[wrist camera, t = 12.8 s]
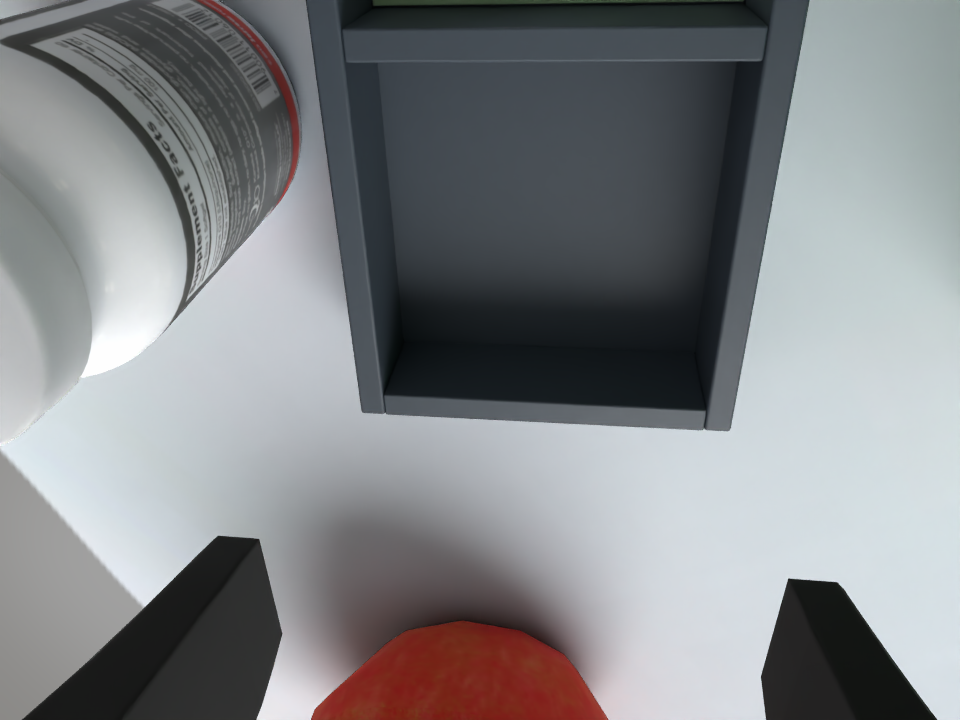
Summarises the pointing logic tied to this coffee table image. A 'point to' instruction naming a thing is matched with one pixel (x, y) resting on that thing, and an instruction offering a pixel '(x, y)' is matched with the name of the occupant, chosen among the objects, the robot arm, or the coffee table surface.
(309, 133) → the coffee table surface
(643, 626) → the coffee table surface
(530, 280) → the dark grey shallow tray
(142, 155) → the pill bottle
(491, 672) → the apple
